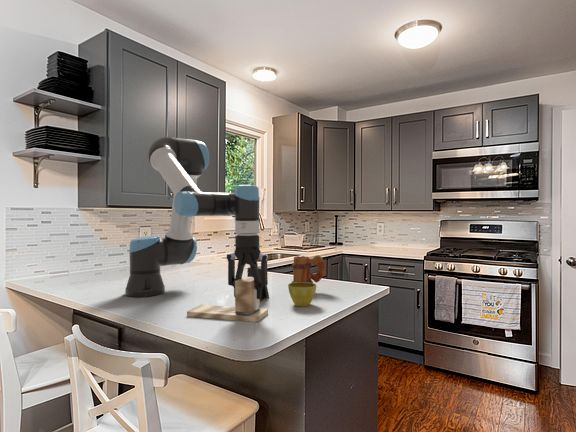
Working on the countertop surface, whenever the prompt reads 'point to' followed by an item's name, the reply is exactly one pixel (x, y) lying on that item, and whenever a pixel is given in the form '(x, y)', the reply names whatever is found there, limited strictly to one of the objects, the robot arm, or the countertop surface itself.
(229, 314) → the board
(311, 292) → the flower pot
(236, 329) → the countertop surface
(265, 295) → the door stopper
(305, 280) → the mug
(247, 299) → the block
